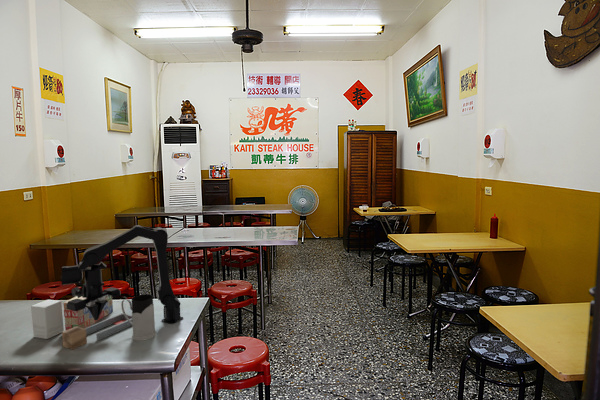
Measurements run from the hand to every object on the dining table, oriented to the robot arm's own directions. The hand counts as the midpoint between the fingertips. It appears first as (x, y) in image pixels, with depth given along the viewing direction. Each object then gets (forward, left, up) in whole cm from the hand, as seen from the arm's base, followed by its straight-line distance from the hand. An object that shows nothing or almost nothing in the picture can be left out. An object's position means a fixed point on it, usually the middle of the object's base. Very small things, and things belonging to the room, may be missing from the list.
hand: (96, 319), depth 145 cm
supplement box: (+18, +8, -6) cm, 21 cm away
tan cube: (0, +9, -6) cm, 11 cm away
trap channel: (0, -6, -6) cm, 8 cm away
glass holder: (-14, -7, -6) cm, 17 cm away
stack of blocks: (+15, -7, -6) cm, 18 cm away
